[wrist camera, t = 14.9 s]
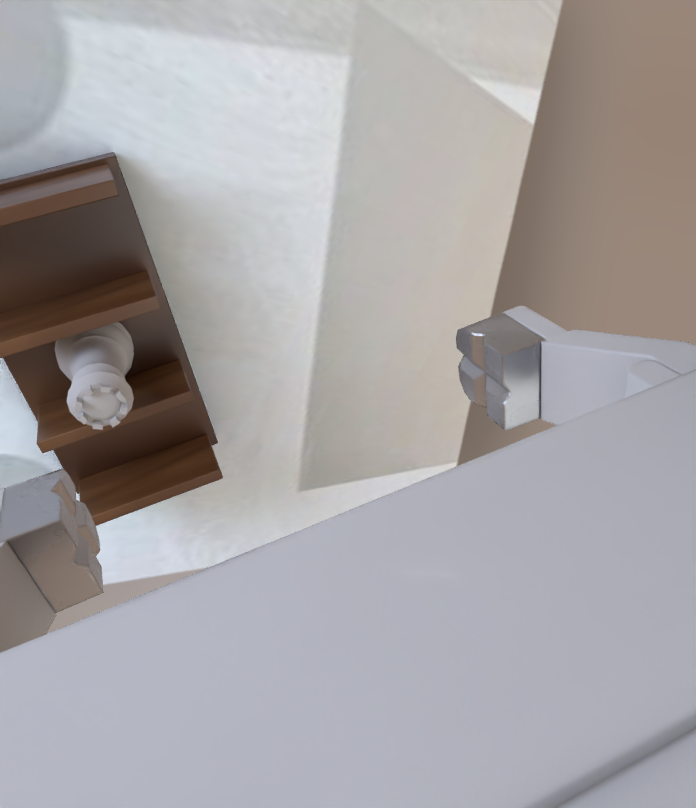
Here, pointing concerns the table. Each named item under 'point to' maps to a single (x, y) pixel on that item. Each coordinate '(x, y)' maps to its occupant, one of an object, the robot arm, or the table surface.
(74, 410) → the rook chess piece
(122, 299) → the plate rack
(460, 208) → the table surface
